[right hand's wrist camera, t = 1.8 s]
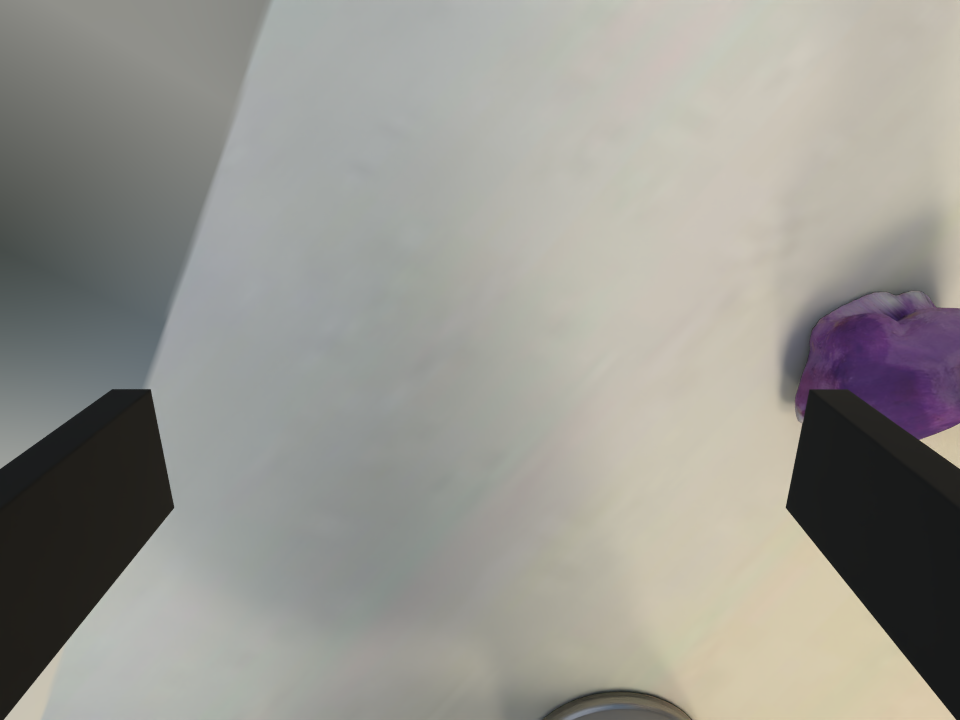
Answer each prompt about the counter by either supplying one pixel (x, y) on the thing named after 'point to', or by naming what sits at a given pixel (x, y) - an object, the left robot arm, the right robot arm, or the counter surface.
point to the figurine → (890, 359)
